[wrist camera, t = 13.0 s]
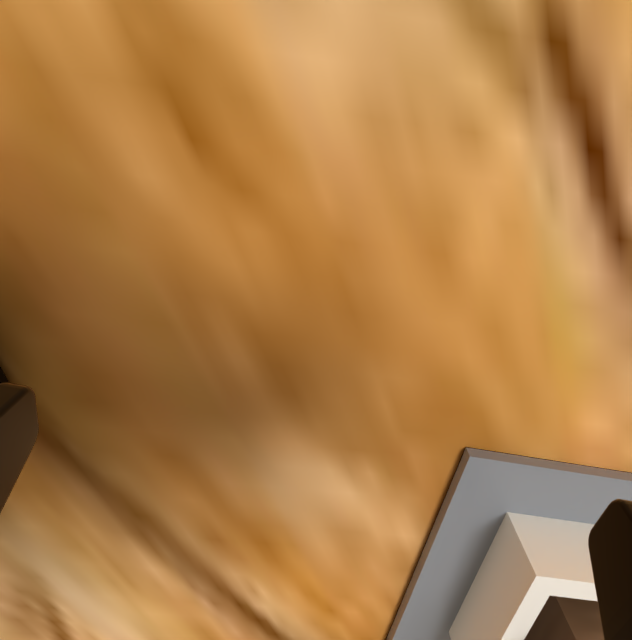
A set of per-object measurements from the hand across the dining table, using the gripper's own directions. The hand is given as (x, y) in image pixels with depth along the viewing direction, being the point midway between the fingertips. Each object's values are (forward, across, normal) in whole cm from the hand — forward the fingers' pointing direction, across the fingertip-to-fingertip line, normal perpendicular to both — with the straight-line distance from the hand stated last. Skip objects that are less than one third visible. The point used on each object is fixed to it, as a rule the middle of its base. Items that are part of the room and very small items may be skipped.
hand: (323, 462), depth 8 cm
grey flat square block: (+12, -14, +17) cm, 25 cm away
